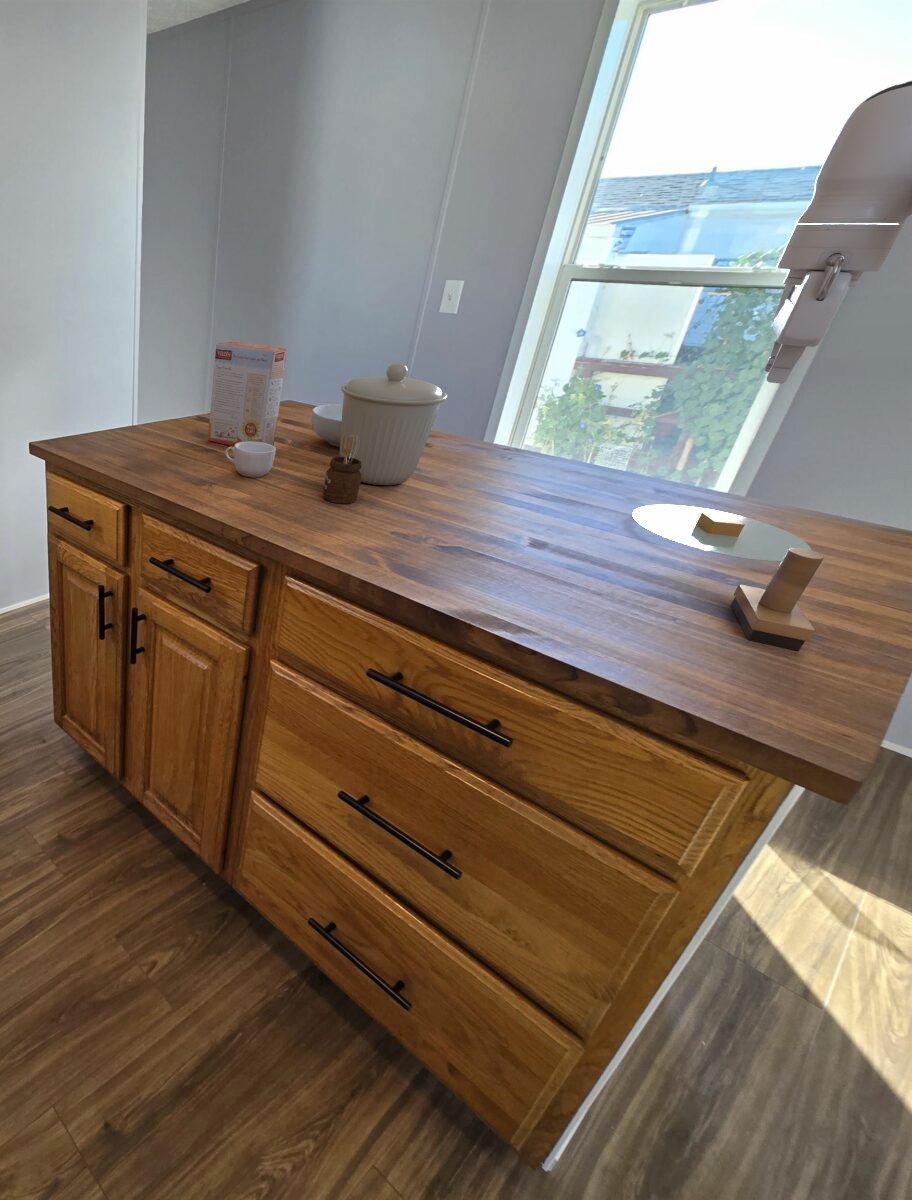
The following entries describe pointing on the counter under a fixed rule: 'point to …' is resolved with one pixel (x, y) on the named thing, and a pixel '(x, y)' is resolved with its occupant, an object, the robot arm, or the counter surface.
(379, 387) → the canister
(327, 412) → the cereal bowl
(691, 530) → the disc
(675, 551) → the counter surface
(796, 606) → the brush
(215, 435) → the cracker box
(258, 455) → the teacup
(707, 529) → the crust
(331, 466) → the utensil holder
